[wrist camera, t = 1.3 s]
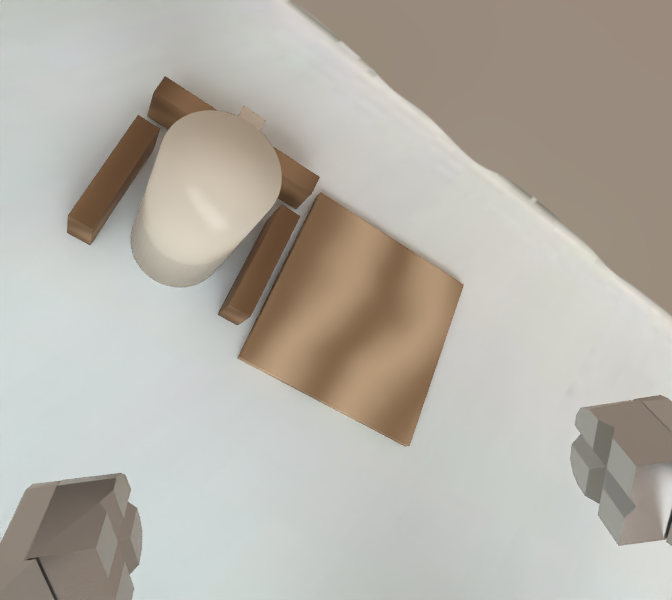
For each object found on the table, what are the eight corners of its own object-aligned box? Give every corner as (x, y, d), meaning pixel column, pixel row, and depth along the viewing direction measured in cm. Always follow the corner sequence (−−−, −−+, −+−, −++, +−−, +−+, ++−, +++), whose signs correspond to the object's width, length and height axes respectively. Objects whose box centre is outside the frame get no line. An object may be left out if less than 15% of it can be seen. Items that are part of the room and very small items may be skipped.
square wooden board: (237, 358, 38) (240, 356, 38) (317, 195, 44) (320, 192, 43) (404, 446, 42) (409, 446, 42) (459, 286, 48) (463, 284, 47)
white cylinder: (112, 257, 36) (134, 180, 26) (175, 157, 40) (218, 54, 29) (197, 303, 38) (250, 249, 28) (251, 204, 41) (317, 122, 31)
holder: (67, 232, 36) (67, 215, 33) (158, 100, 40) (165, 76, 38) (237, 325, 39) (250, 316, 36) (303, 193, 43) (319, 177, 41)
